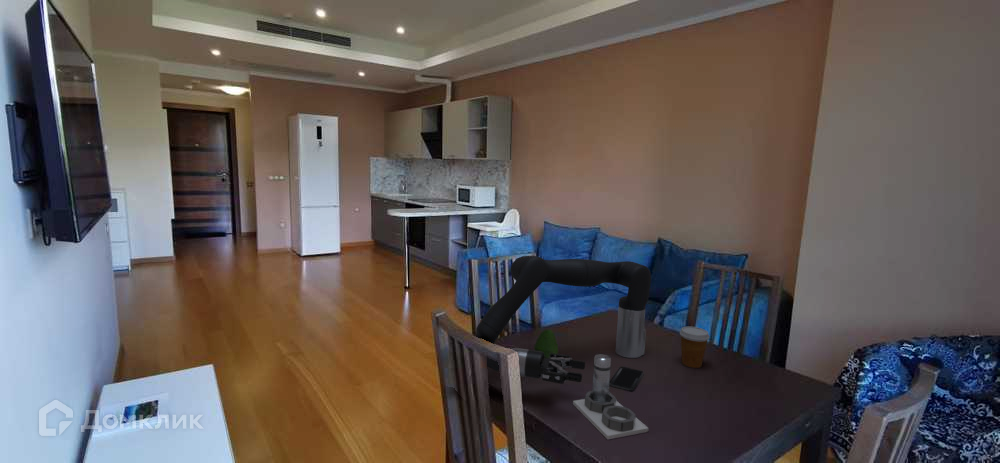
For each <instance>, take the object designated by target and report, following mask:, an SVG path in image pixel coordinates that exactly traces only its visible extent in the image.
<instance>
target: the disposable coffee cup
mask: <svg viewBox="0 0 1000 463" xmlns="http://www.w3.org/2000/svg"><path fill="white" fill-rule="evenodd" d="M679 335H680V345H681V346H680V347H681V348H680V349H681V351H680V352H681V364H683V365H684V366H686V367H689V368H693V369H697V368H701V367H702V364H703V361H704V357H705V352H706V348H707V344H708V341H709V339H710V334H709V332H708V330H706V329H704V328H701V327H698V326H683V327H682V328H681V329H680V331H679Z"/></svg>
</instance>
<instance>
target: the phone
mask: <svg viewBox="0 0 1000 463" xmlns="http://www.w3.org/2000/svg"><path fill="white" fill-rule="evenodd" d="M644 374H645V373H644V370H643V371H642V370H639V369H635V368H631V367H625V366H620V367H619V368H618V369H617V371H616V372H615V374H614V375H613V376H612V378H611V379H610V381H609V388H610V387H611V388H615V389H619V390H623V391H626V392H630V393H633V392H635V390H636V389H637V387H638V385H639V384H640V382H641V380H642V378H643V376H644Z"/></svg>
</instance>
